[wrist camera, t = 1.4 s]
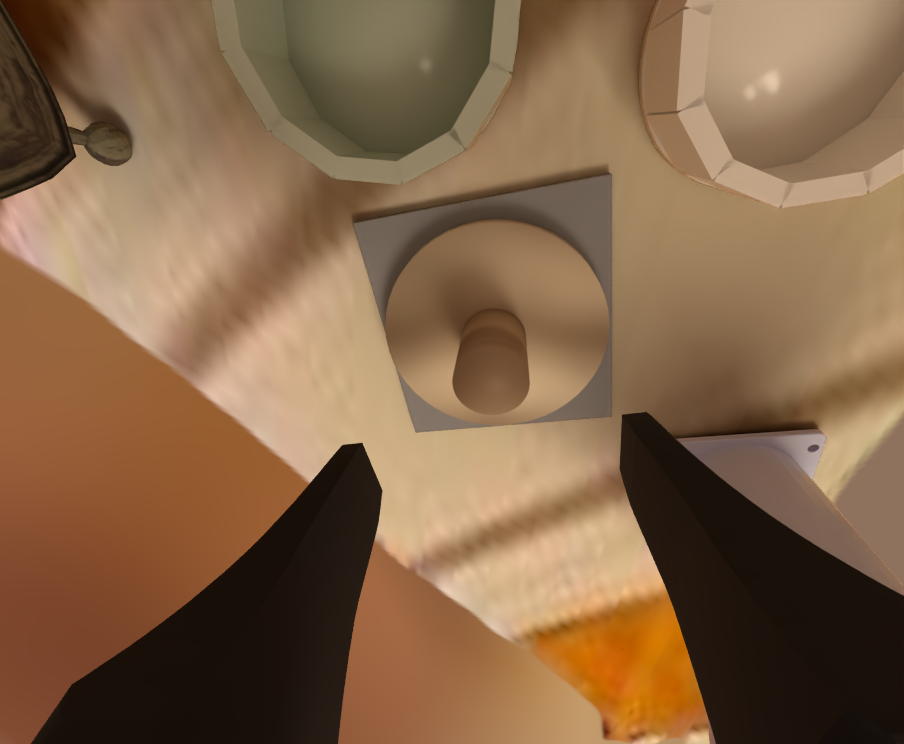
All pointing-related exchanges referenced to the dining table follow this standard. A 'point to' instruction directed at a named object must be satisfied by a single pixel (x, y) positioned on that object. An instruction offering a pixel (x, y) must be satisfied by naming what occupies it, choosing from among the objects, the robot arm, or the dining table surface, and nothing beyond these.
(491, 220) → the lid
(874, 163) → the cream bowl
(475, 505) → the dining table surface
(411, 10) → the sage bowl
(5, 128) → the tabletop clock
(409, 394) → the slate mat
